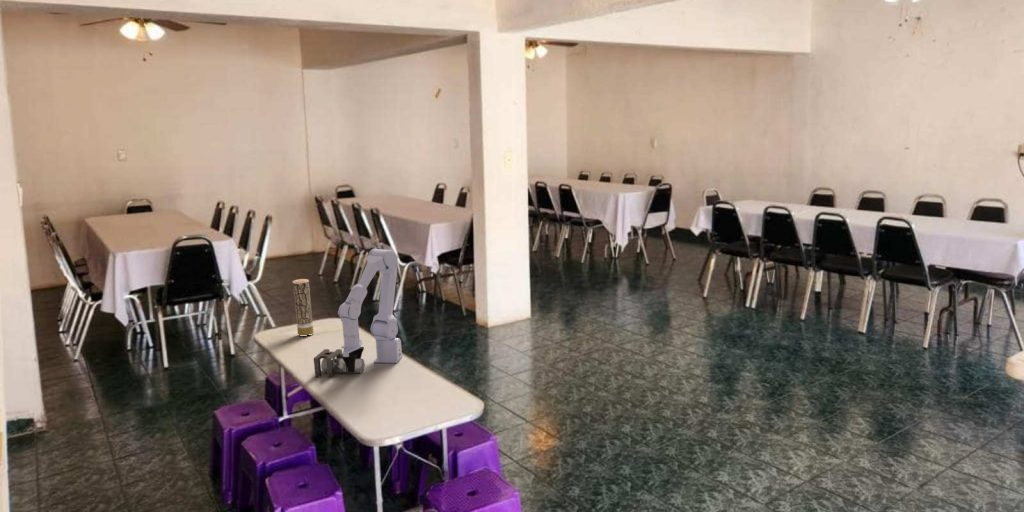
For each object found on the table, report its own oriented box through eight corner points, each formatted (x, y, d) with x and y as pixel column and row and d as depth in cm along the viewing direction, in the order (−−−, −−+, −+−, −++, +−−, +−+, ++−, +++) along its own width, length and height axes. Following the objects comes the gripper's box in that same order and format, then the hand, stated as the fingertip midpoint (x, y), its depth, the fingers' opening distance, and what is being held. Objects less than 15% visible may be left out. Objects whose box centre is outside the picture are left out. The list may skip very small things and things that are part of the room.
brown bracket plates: (343, 367, 275) (341, 349, 273) (332, 377, 265) (330, 358, 263) (326, 367, 276) (324, 349, 274) (315, 377, 266) (313, 358, 264)
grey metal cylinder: (365, 369, 271) (364, 355, 270) (359, 375, 265) (358, 361, 264) (327, 369, 273) (326, 355, 272) (321, 374, 267) (320, 360, 266)
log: (309, 337, 316) (303, 282, 312) (295, 337, 318) (289, 282, 313) (316, 332, 323) (311, 279, 318) (302, 332, 324) (297, 278, 320)
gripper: (348, 328, 274) (350, 362, 276) (333, 340, 259) (336, 375, 262) (365, 328, 273) (368, 362, 275) (352, 340, 258) (355, 376, 261)
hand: (354, 369), depth 269 cm, fingers closed on grey metal cylinder, 5 cm apart
